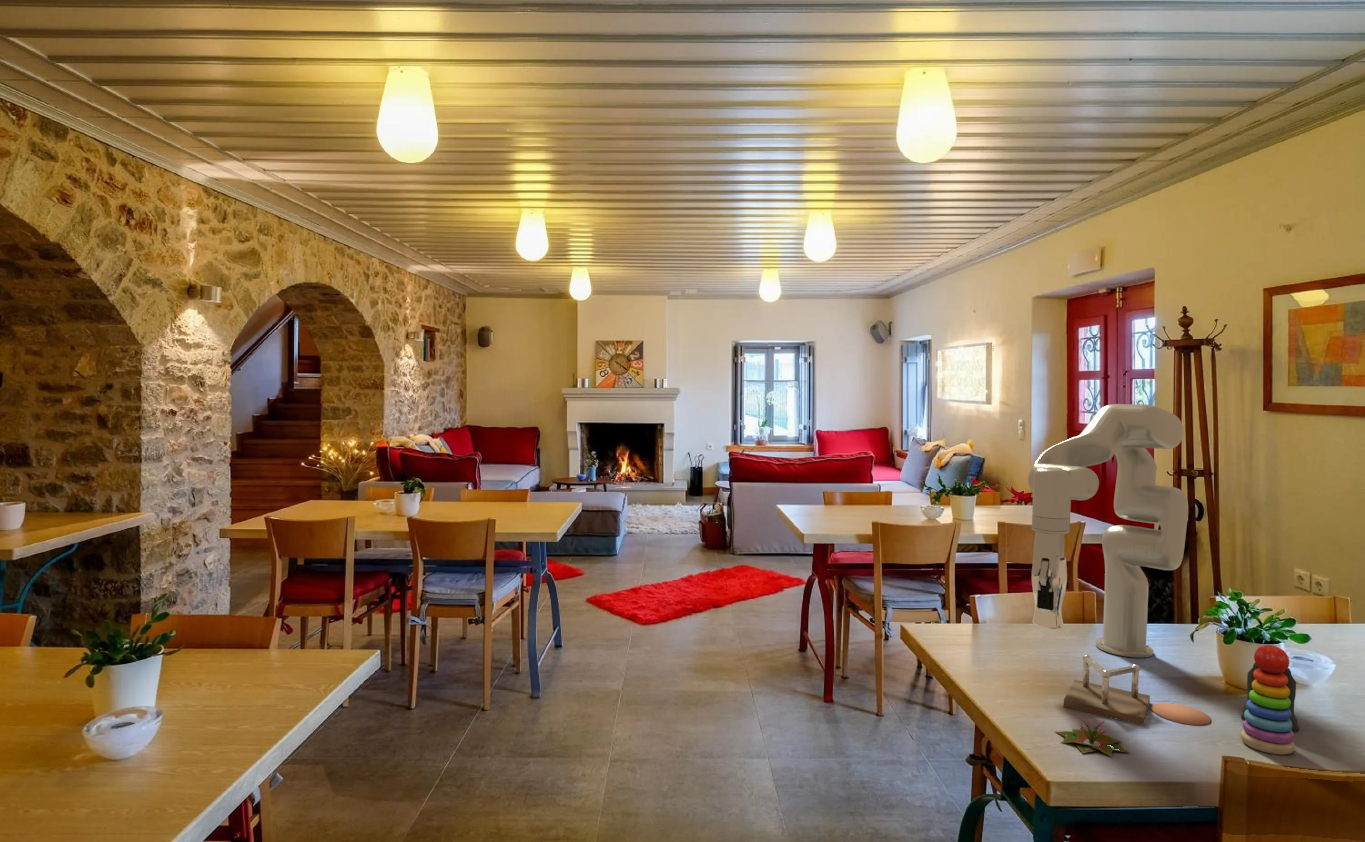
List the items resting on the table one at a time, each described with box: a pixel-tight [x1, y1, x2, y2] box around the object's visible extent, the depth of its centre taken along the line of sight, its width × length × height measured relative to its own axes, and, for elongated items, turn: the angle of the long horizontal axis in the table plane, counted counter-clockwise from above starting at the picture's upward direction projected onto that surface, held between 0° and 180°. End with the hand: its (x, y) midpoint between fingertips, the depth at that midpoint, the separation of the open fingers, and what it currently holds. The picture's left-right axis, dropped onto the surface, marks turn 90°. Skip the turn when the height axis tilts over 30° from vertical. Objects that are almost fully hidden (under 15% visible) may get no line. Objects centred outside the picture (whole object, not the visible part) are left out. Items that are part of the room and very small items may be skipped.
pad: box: [1150, 702, 1211, 726], centre depth 151 cm, size 10×10×1 cm
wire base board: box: [1063, 679, 1151, 726], centre depth 155 cm, size 14×14×2 cm
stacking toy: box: [1239, 644, 1296, 756], centre depth 137 cm, size 8×8×19 cm
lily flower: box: [1054, 716, 1131, 758], centre depth 137 cm, size 12×12×5 cm
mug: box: [1240, 662, 1300, 734], centre depth 149 cm, size 12×9×11 cm
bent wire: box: [1082, 654, 1141, 705], centre depth 155 cm, size 10×11×7 cm
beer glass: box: [1031, 556, 1068, 630], centre depth 165 cm, size 7×7×15 cm
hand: (1048, 604), depth 165 cm, fingers closed on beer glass, 6 cm apart
